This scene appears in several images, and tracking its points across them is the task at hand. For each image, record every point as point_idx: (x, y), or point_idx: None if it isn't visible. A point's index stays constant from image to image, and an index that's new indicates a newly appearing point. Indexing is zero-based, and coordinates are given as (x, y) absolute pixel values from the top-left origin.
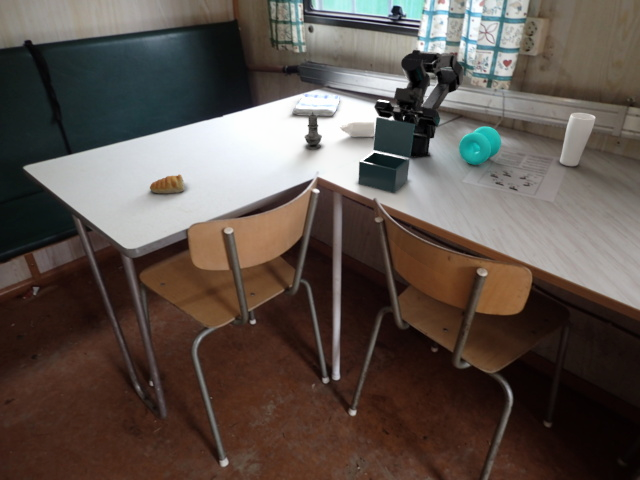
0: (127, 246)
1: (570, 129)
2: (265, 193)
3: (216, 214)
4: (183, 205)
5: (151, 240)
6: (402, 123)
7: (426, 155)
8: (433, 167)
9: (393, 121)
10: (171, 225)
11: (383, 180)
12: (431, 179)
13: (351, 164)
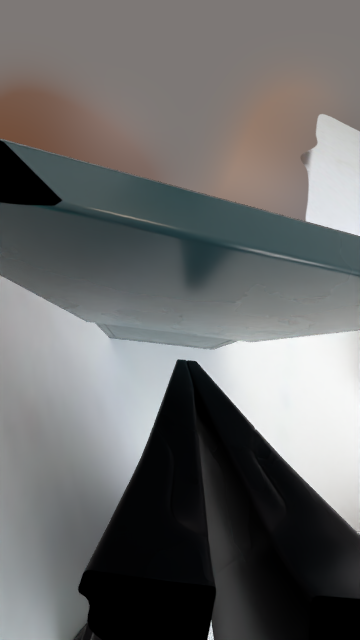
0: (324, 114)
1: None
2: (313, 211)
3: (315, 160)
4: (354, 171)
5: (318, 121)
6: (127, 189)
7: (80, 634)
8: (34, 503)
9: (291, 226)
10: (328, 140)
11: None
12: (34, 384)
13: (279, 375)
